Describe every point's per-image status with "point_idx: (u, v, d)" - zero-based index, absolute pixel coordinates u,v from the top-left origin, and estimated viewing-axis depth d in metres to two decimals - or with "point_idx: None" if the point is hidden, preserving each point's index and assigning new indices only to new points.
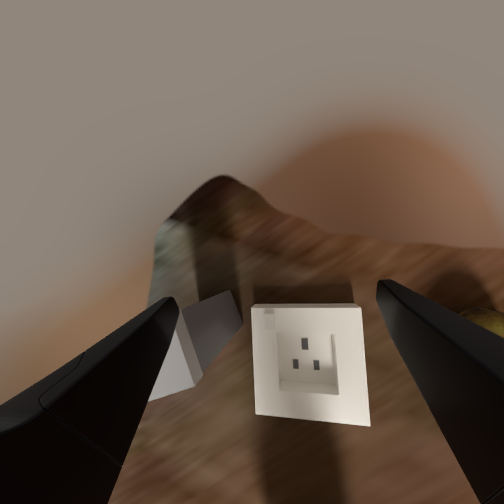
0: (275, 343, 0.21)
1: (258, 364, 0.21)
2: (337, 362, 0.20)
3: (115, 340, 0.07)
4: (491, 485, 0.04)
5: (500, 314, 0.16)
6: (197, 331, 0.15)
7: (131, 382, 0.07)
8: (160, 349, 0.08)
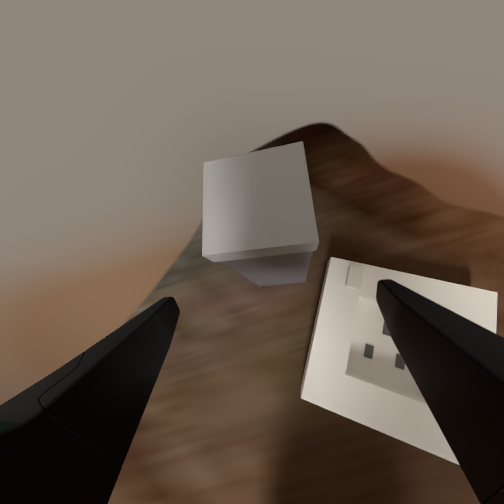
0: (354, 308, 0.16)
1: (323, 330, 0.16)
2: None
3: (115, 340, 0.07)
4: (492, 485, 0.04)
5: None
6: None
7: (131, 382, 0.07)
8: (160, 349, 0.08)
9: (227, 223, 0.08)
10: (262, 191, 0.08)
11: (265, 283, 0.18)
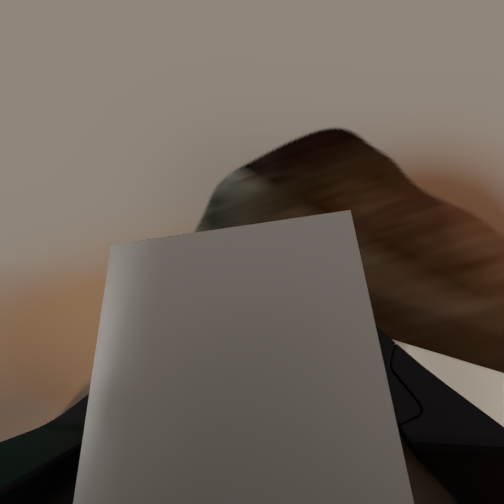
0: None
1: None
2: None
3: None
4: None
5: None
6: None
7: None
8: None
9: (142, 447, 0.03)
10: (242, 355, 0.03)
11: None
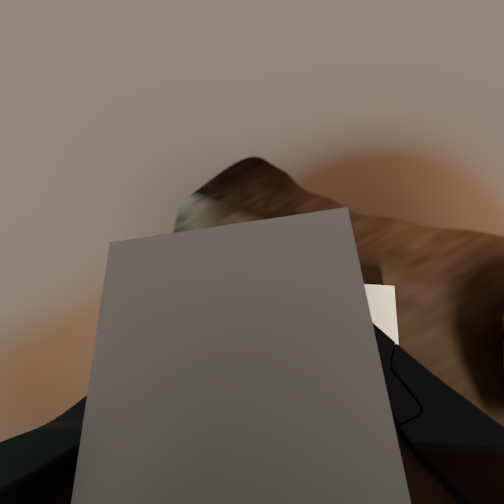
0: None
1: None
2: None
3: None
4: None
5: None
6: None
7: None
8: None
9: (141, 444, 0.03)
10: (239, 351, 0.03)
11: None
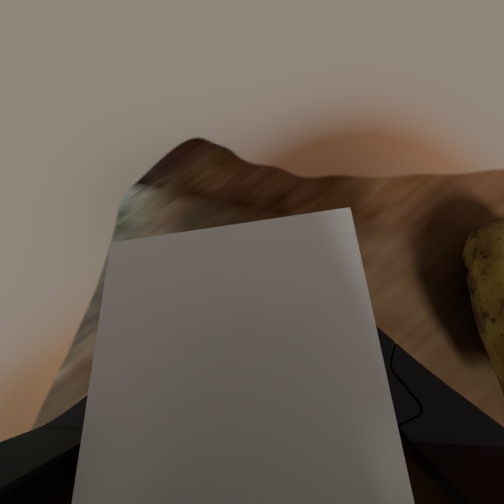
0: None
1: None
2: None
3: None
4: None
5: None
6: None
7: None
8: None
9: (141, 445, 0.03)
10: (241, 352, 0.03)
11: None
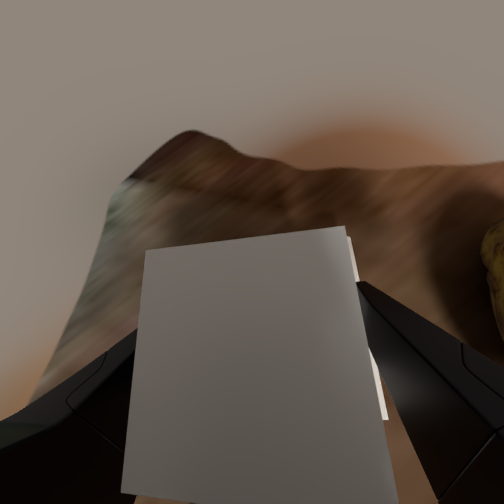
0: None
1: None
2: None
3: None
4: (444, 481, 0.04)
5: None
6: None
7: None
8: None
9: (179, 412, 0.04)
10: (258, 339, 0.04)
11: None
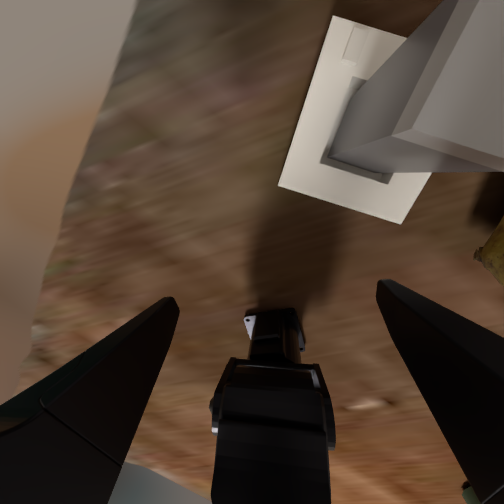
0: (343, 93, 0.14)
1: (306, 120, 0.15)
2: None
3: (115, 340, 0.07)
4: (492, 486, 0.04)
5: None
6: None
7: (131, 382, 0.07)
8: (160, 349, 0.08)
9: (476, 90, 0.06)
10: None
11: (341, 159, 0.16)
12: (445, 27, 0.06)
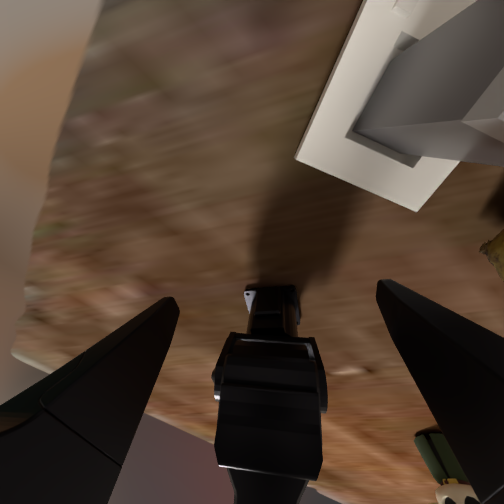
0: (386, 53, 0.12)
1: (339, 84, 0.13)
2: None
3: (115, 340, 0.07)
4: (492, 486, 0.04)
5: None
6: None
7: (131, 382, 0.07)
8: (160, 349, 0.08)
9: None
10: None
11: (369, 134, 0.14)
12: None
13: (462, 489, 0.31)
